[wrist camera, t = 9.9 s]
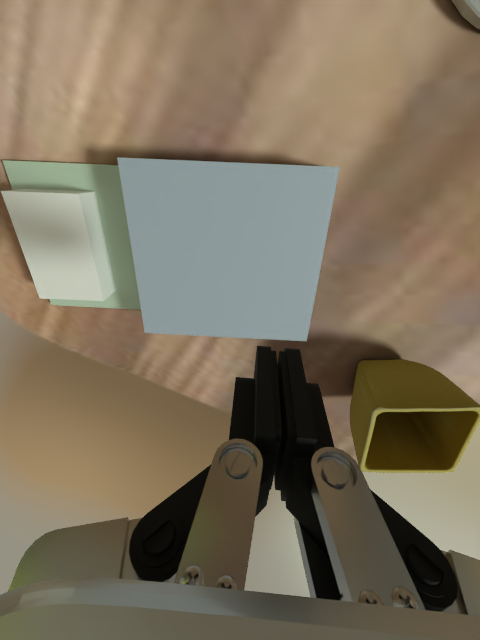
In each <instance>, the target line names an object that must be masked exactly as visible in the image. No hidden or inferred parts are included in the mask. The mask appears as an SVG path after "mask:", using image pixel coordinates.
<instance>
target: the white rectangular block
mask: <svg viewBox="0 0 480 640" xmlns="http://www.w3.org/2000/svg"><path fill="white" fill-rule="evenodd" d="M1 193H2V196H3V199H4V201H5V204H6V207H7V210H8V212H9V215H10V218H11V221H12V223H13V226H14V229H15V232H16V234H17V237H18V240H19V243H20V245H21V248H22V251H23V254H24V256H25V259H26V262H27V265H28V267H29V270H30V273H31V276H32V278H33V281H34V284H35V287H36V289H37V292H38V295H39V298H44V299H66V300H89V301H105V300H106V299H107V298H108V297H109V296H110V295H111V294H112V293H114V292H115V291H116V289H115V284H114V280H113V275H112V270H111V265H110V261H109V256H108V251H107V246H106V241H105V237H104V232H103V227H102V222H101V218H100V213H99V208H98V203H97V199H96V194H95V191H73V190H46V189H16V190H6V191H1Z"/></svg>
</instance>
